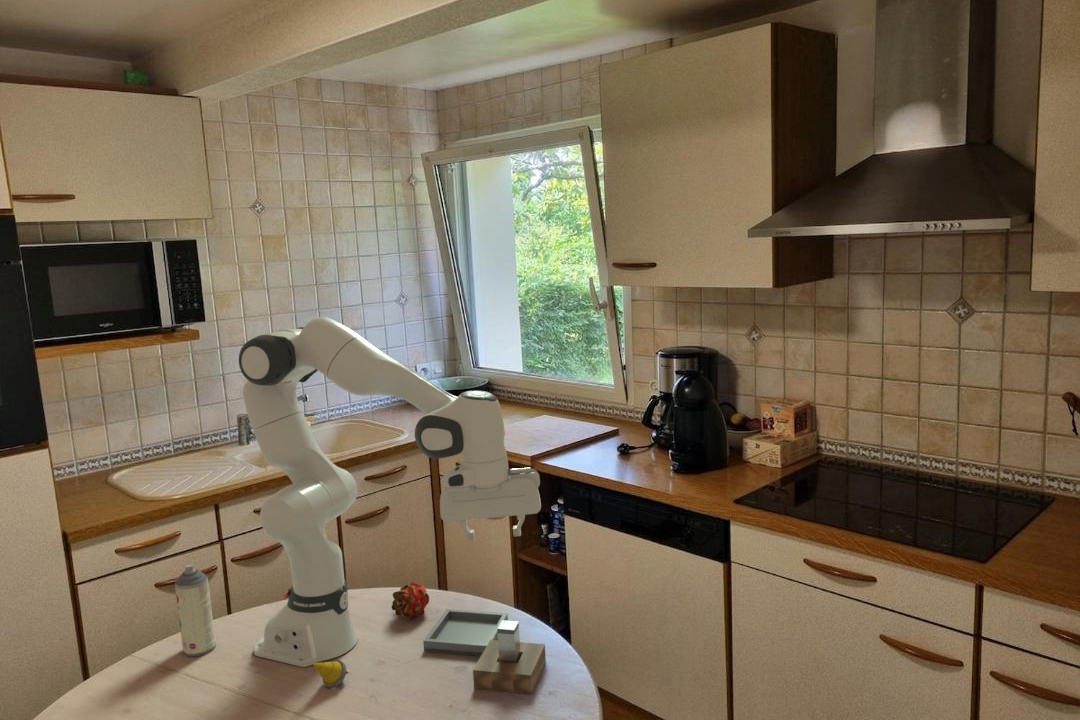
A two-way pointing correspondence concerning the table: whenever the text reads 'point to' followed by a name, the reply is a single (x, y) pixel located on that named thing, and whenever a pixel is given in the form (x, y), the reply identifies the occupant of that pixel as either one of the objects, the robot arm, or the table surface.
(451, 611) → the tray
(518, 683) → the hitch block
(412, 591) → the dragon fruit
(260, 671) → the table surface
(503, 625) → the metal pin
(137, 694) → the table surface
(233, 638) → the table surface
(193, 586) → the aerosol can
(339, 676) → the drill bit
